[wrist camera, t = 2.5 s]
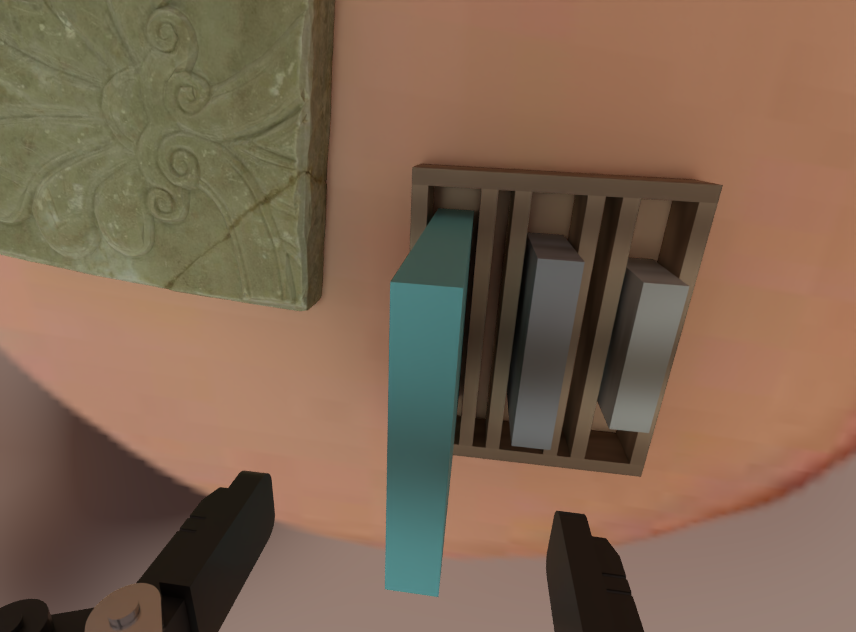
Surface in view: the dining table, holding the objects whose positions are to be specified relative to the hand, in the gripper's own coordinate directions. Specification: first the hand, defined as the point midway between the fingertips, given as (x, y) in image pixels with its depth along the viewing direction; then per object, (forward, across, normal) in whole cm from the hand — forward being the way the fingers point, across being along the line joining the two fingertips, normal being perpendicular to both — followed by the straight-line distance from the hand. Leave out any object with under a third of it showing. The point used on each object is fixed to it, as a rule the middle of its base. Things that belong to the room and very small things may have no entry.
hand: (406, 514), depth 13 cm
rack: (+16, -5, 0) cm, 17 cm away
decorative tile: (+17, +17, -10) cm, 26 cm away
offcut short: (+16, -10, 0) cm, 19 cm away
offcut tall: (+16, -5, 0) cm, 17 cm away
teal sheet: (+16, 0, 0) cm, 16 cm away
